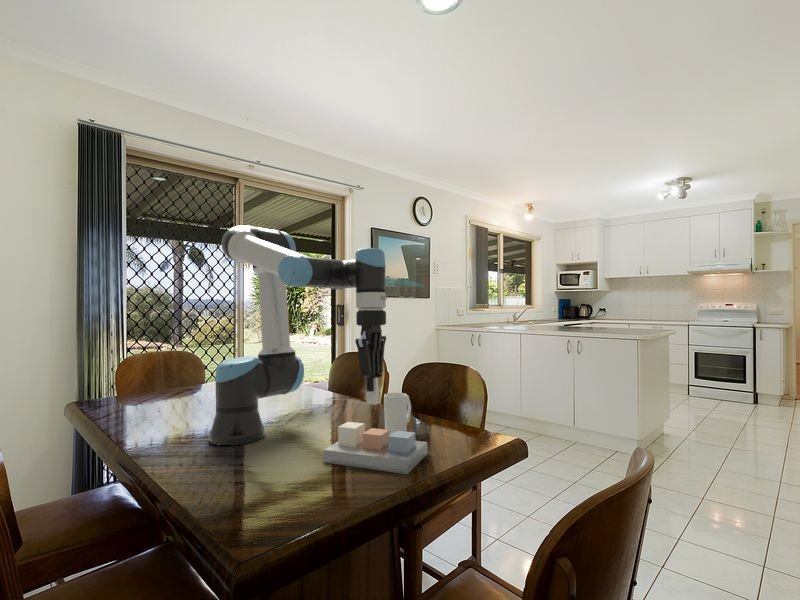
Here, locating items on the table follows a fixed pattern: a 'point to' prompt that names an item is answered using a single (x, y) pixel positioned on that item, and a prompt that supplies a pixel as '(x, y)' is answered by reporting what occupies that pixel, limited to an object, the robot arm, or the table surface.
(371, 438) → the terracotta key
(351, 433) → the cream cube
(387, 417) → the mug
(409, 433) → the slate key
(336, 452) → the grey slotted board
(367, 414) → the table surface
